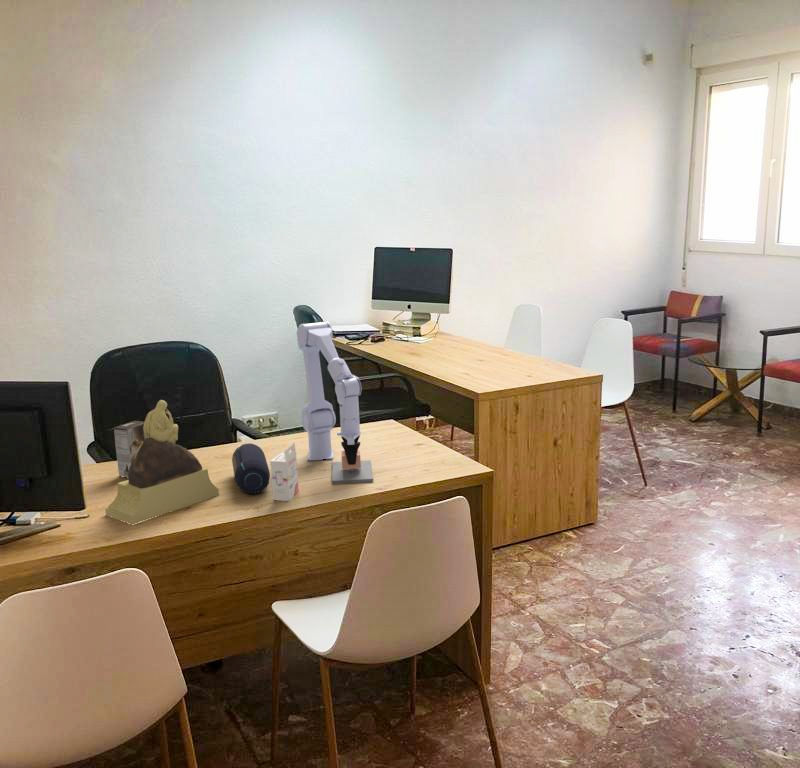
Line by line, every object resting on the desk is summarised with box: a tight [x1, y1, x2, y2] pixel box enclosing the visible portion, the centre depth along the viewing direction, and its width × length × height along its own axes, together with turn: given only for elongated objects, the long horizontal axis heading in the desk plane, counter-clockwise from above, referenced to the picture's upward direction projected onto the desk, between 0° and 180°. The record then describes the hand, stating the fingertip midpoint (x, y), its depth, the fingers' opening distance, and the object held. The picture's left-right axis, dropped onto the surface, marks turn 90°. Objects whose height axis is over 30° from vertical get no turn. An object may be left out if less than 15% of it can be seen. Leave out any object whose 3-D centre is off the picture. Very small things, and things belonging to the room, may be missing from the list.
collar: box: [341, 449, 362, 469], centre depth 251 cm, size 6×6×4 cm
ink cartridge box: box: [269, 442, 300, 502], centre depth 233 cm, size 9×5×15 cm, turn 168°
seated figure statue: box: [104, 399, 220, 525], centre depth 228 cm, size 28×13×30 cm, turn 140°
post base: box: [331, 460, 374, 485], centre depth 252 cm, size 18×12×6 cm, turn 4°
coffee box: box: [112, 420, 150, 477], centre depth 257 cm, size 9×6×16 cm
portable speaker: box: [231, 443, 271, 495], centre depth 246 cm, size 25×10×10 cm, turn 14°
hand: (351, 461), depth 252 cm, fingers closed on collar, 6 cm apart
